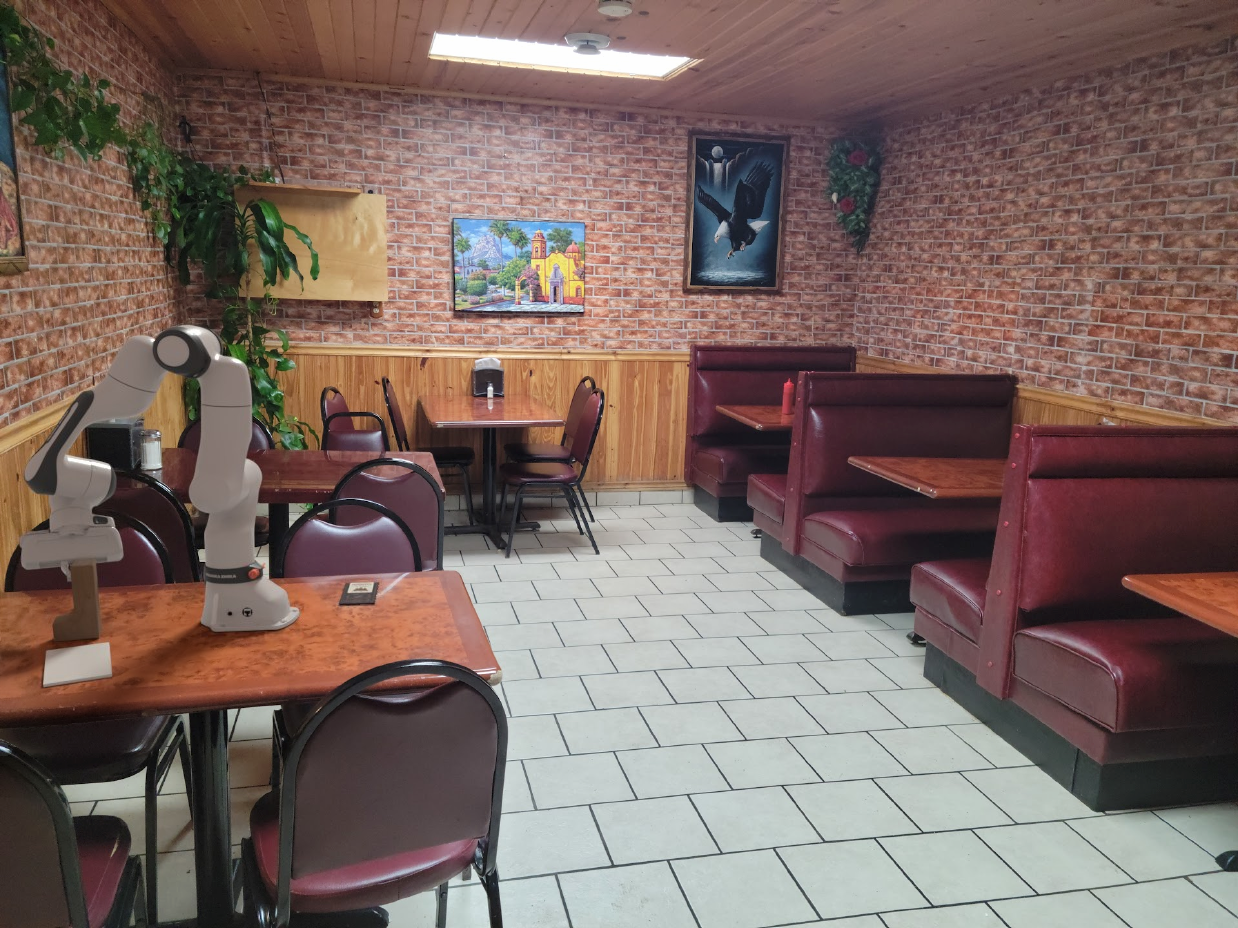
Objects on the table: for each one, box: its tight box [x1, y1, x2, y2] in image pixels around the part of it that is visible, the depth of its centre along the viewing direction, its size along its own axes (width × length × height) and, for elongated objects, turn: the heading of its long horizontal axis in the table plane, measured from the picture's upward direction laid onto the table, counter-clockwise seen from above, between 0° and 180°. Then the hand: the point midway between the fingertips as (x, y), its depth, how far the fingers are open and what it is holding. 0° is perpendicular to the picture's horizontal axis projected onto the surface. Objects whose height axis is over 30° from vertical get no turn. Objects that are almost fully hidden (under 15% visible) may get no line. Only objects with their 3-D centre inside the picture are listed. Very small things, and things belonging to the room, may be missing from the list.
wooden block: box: [51, 559, 103, 643], centre depth 206 cm, size 9×4×18 cm, turn 111°
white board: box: [42, 641, 113, 688], centre depth 193 cm, size 20×12×1 cm, turn 30°
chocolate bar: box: [338, 581, 380, 606], centre depth 246 cm, size 9×1×18 cm
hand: (74, 579), depth 208 cm, fingers closed
